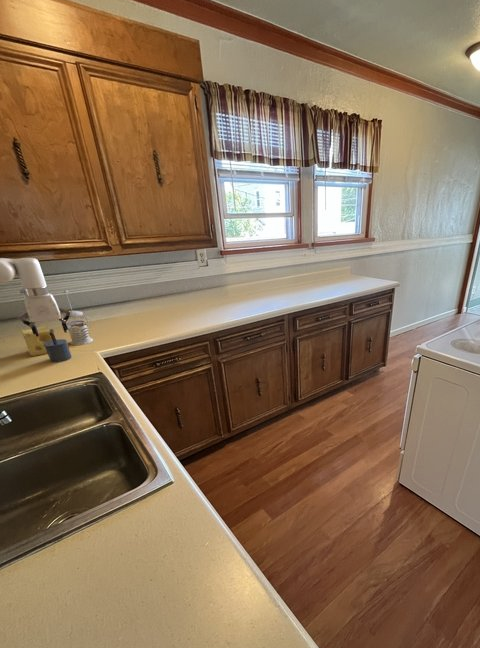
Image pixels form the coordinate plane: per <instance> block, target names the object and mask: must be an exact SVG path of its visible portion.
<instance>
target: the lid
mask: <svg viewBox="0 0 480 648" xmlns="http://www.w3.org/2000/svg"><path fill="white" fill-rule="evenodd" d="M49 330H50V331H49V334H50V336H51V338H52V341H48V342H46V343H44V344H43V345H44V346H45V347H56V346H60V345H63V344H66V343H67V344H68V340H67V339H62V338H61V339H60V338H59V339H57V338H56V335H55V331H54V329H53V328H49Z"/></svg>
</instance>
